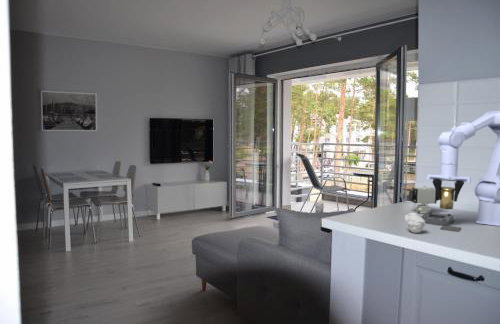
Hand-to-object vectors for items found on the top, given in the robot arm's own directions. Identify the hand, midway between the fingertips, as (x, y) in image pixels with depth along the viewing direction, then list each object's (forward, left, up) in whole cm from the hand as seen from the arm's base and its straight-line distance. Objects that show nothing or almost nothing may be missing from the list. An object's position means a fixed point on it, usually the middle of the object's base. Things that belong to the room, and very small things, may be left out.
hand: (447, 200), depth 146 cm
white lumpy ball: (+7, +17, -10) cm, 21 cm away
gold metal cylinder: (0, -1, -3) cm, 3 cm away
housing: (+4, -7, -10) cm, 13 cm away
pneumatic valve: (+12, -21, -10) cm, 27 cm away
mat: (-2, +3, -10) cm, 11 cm away
